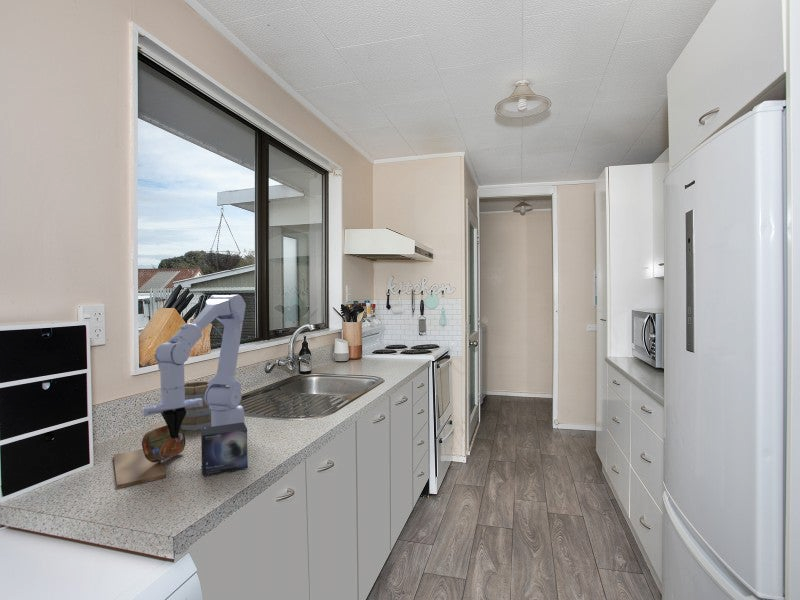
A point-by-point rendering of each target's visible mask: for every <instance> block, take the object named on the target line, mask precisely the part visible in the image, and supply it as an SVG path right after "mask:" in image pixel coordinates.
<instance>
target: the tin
mask: <svg viewBox="0 0 800 600" xmlns="http://www.w3.org/2000/svg"><path fill="white" fill-rule="evenodd" d="M141 440H142V441H141V447H142V448H141V449H143V452H144V455H145V457H146V459H147V460H148V461H150V462H159V461H161V462H162V461H166V460H168V459H169V458H170V459H171V458H172V457H174V456H177V455H179V454H181V453H182V452H183V451H184V450H185V448H186V447H185V446H186V436H185V431H183V430H182V428H181V427H180V430H179V434H178V438H174V439H172V438H171V437H170V432H169V429H168V426H167V424H165V425H163V426H160V427H158V428H155V429H153V430H149V431H147V432H146V433H145V434H144V435H143V437H142V439H141Z"/></svg>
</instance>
